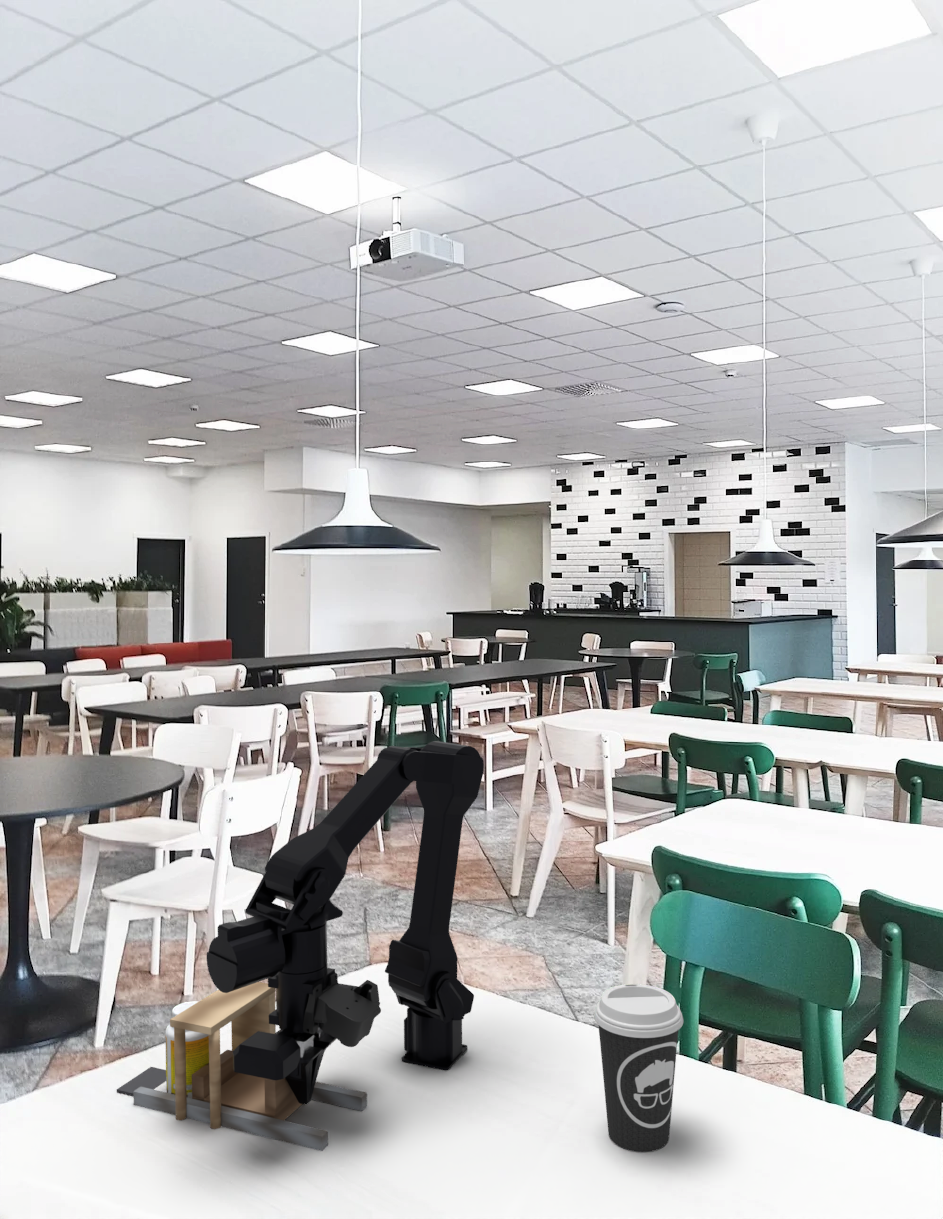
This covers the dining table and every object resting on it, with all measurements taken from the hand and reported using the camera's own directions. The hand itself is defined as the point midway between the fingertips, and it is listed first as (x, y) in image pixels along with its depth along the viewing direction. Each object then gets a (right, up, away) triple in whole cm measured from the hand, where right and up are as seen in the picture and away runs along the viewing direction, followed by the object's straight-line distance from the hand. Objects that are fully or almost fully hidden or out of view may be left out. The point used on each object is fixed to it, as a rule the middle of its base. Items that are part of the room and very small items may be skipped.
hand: (304, 1102), depth 114 cm
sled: (-7, -2, +3) cm, 7 cm away
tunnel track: (-7, -2, +3) cm, 8 cm away
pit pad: (-20, -2, +9) cm, 22 cm away
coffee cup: (+37, -2, -3) cm, 37 cm away
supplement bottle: (-14, -2, +6) cm, 16 cm away
